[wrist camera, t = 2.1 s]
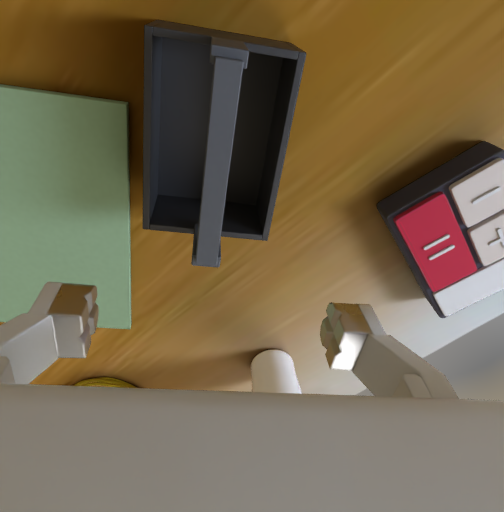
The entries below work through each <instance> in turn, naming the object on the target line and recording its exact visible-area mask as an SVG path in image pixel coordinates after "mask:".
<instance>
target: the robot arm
mask: <svg viewBox="0 0 504 512" xmlns="http://www.w3.org/2000/svg"><path fill="white" fill-rule="evenodd" d="M97 295H98V294H97V287H96V286H95V285H85V284H74V283H62V282H50V281H48V282H47V283H46V284H45V285H44V286H43V288H42V290H41V292H40V293H39V295H38V297H37V298H36V300H35V302H34V303H33V305H32V307H31V309H30V310H29V312H28V313H22V314H21V315H19V316H17V317H15V318H13V319H11V320H10V321H8V322H6V323H4V324H2V325H0V512H504V401H502V400H473V399H459V398H458V396H457V395H456V393H455V392H454V390H453V388H452V387H451V385H450V383H449V382H448V380H447V378H446V377H445V375H444V374H442V373H441V372H440V371H438V370H437V369H436V368H434V367H433V366H432V365H430V364H429V363H427V362H426V361H425V360H423V359H422V358H421V357H419V356H418V355H417V354H415V353H414V352H412V351H411V350H410V349H408V348H407V347H406V346H404V345H403V344H402V343H400V342H399V341H397V340H396V339H395V338H393V337H392V336H391V335H386V333H385V331H384V329H383V327H382V325H381V323H380V321H379V320H378V318H377V316H376V314H375V312H374V310H373V308H372V306H371V305H369V304H345V303H329V305H328V307H327V309H326V312H327V315H328V316H327V317H326V318H325V319H324V320H323V321H322V325H321V331H320V336H321V342H322V345H323V346H324V347H325V348H326V349H327V352H326V354H325V355H326V358H327V361H328V364H329V368H330V369H336V370H350V371H352V372H353V373H354V374H355V375H356V376H357V377H358V378H359V379H360V381H361V382H362V383H363V384H364V385H365V386H366V387H367V388H368V389H369V390H370V391H371V392H372V393H373V394H374V396H354V395H324V394H296V393H268V392H238V391H207V390H177V389H148V388H119V387H90V386H61V385H32V384H29V383H30V382H31V381H33V380H34V379H35V378H36V377H37V376H39V375H40V374H41V373H42V372H43V371H44V370H46V369H47V368H48V367H49V366H50V365H51V364H53V363H54V362H55V361H56V360H57V359H58V358H86V356H87V353H88V350H89V347H90V345H91V335H92V334H94V333H95V330H96V327H97V322H98V313H99V309H98V305H97V304H96V303H95V301H96V298H97Z"/></svg>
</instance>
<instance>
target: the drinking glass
mask: <svg viewBox="0 0 504 512" xmlns="http://www.w3.org/2000/svg"><path fill="white" fill-rule="evenodd" d="M251 377H252V392H268V393H296V394H302V391H301V388H300V385H299V382H298V379H297V375H296V372H295V368H294V363H293V360H292V358H291V357H290V355H289V354H287V353H286V352H284V351H281V350H266V351H263V352H261V353H259V354H258V355H257V356H256V357H255V358H254V359H253V361H252V363H251Z"/></svg>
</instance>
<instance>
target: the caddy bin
mask: <svg viewBox="0 0 504 512" xmlns="http://www.w3.org/2000/svg"><path fill="white" fill-rule="evenodd" d="M305 58H306V52H304V51H303V50H301V49H299V48H298V47H296V46H295V45H293V44H292V43H289V42H283V41H277V40H272V39H266V38H260V37H254V36H249V35H243V34H237V33H231V32H226V31H220V30H214V29H208V28H203V27H197V26H191V25H185V24H180V23H174V22H168V21H162V20H155V21H153V22H151V23H148V24H146V25H144V129H143V229H150V230H159V231H169V232H180V233H191V234H194V240H193V252H192V265H196V266H208V267H219V266H220V260H221V245H220V238H221V236H222V237H233V238H243V239H254V240H265V241H267V240H268V235H269V231H270V226H271V221H272V216H273V211H274V206H275V202H276V197H277V192H278V187H279V182H280V178H281V173H282V168H283V163H284V158H285V154H286V149H287V144H288V139H289V134H290V130H291V125H292V120H293V115H294V110H295V106H296V101H297V96H298V91H299V86H300V82H301V77H302V72H303V67H304V62H305Z"/></svg>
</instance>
